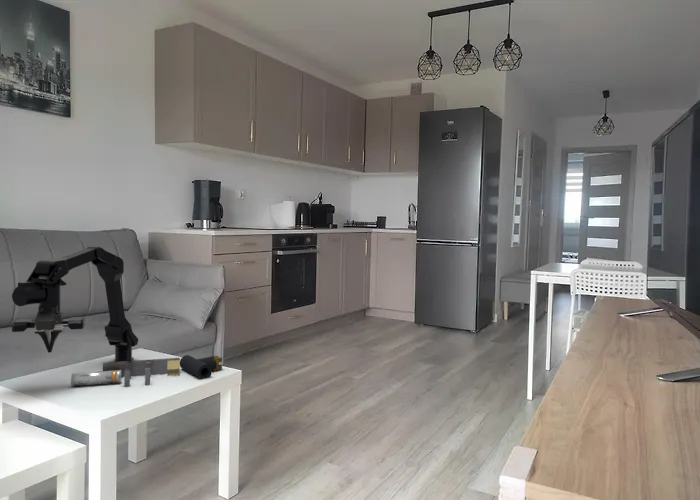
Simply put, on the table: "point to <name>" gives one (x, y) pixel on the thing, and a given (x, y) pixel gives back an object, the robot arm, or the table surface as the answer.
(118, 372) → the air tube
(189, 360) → the pipe connector
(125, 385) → the twin upright pegs
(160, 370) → the gray rectangular bar
